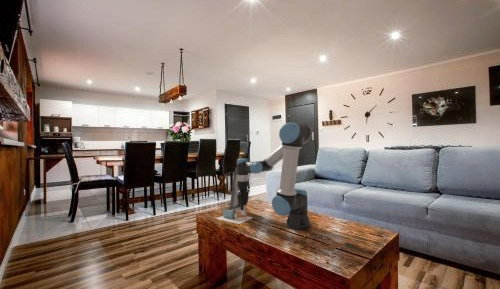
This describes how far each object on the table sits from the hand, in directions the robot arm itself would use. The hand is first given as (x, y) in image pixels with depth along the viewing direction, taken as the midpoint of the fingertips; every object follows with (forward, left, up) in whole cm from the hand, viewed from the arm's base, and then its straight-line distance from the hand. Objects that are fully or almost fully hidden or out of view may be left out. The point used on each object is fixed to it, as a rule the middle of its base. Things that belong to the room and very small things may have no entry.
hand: (243, 214), depth 164 cm
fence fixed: (+10, +3, -3) cm, 11 cm away
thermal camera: (+19, -14, -4) cm, 23 cm away
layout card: (+7, +1, -3) cm, 8 cm away
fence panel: (+2, -1, -3) cm, 3 cm away
